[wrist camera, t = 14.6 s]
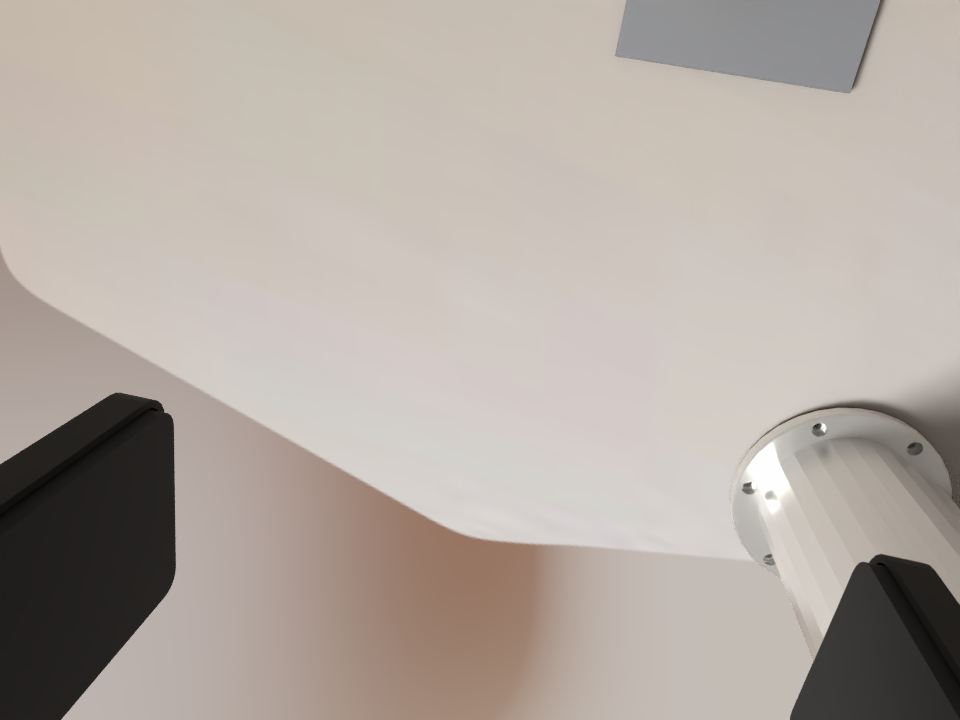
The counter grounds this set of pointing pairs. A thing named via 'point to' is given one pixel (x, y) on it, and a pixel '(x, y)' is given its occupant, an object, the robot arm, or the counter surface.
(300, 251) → the counter surface
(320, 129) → the counter surface
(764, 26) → the grey mat
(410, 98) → the counter surface
